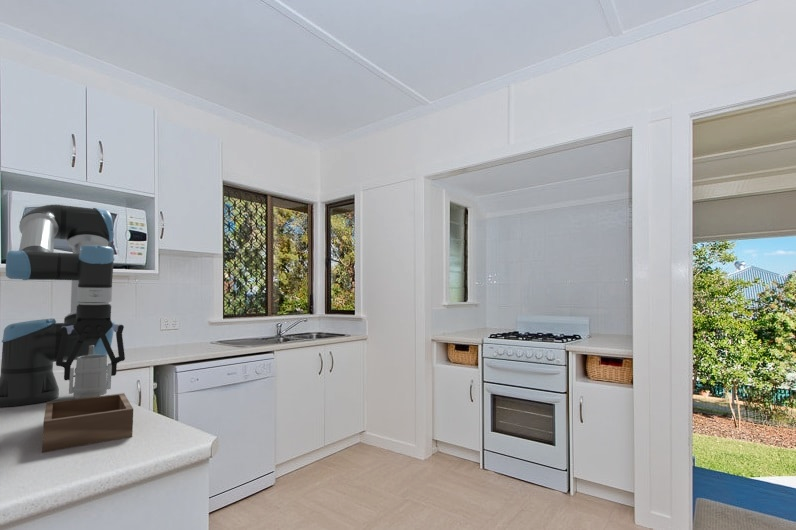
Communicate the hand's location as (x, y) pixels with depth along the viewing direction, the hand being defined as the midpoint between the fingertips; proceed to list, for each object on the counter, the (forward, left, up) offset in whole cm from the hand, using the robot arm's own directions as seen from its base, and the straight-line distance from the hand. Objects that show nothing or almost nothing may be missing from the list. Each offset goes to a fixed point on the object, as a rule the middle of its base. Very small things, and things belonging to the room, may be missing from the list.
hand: (90, 390), depth 113 cm
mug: (0, 0, -1) cm, 1 cm away
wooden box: (+19, -1, -6) cm, 20 cm away
